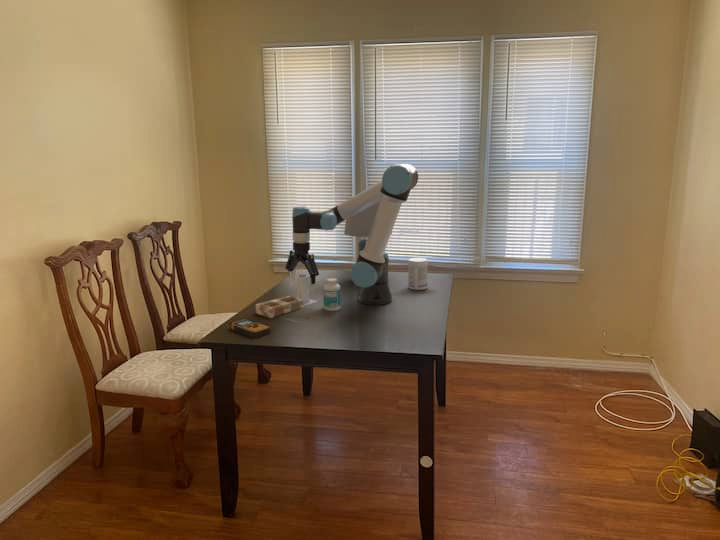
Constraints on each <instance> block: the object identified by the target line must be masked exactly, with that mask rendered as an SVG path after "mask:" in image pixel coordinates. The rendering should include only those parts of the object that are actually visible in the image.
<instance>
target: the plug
mask: <svg viewBox="0 0 720 540" xmlns="http://www.w3.org/2000/svg"><path fill="white" fill-rule="evenodd" d="M309 277H310V275H307V274H304V273H301V274H298V275H295V285H296V298H300V299H302V300H303V303H306V302H309V299H310V291H309Z"/></svg>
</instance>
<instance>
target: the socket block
mask: <svg viewBox="0 0 720 540" xmlns="http://www.w3.org/2000/svg"><path fill="white" fill-rule="evenodd" d="M303 308H304V306H303V300H302V299H300V298H297V296H292V295H287V296H283V297H278V298H276V299H275V298H274V299H270V300H268V301H267V300H266V301H262V302H260V303H256V304H255V314H257V315H260V316H264V317H266V318H268V319H273V318H277V317H279V316H280V315H282V314H286V313H289V312H293V311H297V310H300V309H303Z"/></svg>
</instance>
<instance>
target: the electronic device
mask: <svg viewBox="0 0 720 540" xmlns="http://www.w3.org/2000/svg"><path fill="white" fill-rule="evenodd" d="M229 328H230V330H232V331H234V332H237V333H239V334H240V335H241V334H242V335H244V336H247V337H250V338H253V339H256V338H260V337H264V336H267V335H269V334H271V328H270V326H268V325H264V324H262V323H260V322H259V323H258V322H257V321H254V320H250V319H247V318H241V319H238V320H235V321H231V322H230V324H229Z"/></svg>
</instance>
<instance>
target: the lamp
mask: <svg viewBox="0 0 720 540" xmlns="http://www.w3.org/2000/svg"><path fill="white" fill-rule="evenodd" d="M380 202H381V201H380ZM380 202H378V203H376V204H374V205H372V206H370V207H369V208H367V209H365V210H363V211H361V212H359V213H357V214H356V215H354V216H352V217H350V218H348V219H346V220H345V226H344V232H343V234H344V235H345V236H349V237H356V238H357V237H358V238H364V239H361V240H359V242H358V244H357V256H358V255H359V252H360V251H362V250H364V248H365V245H366V242H367V239H368V237H369V234H370V231H371V228H372V225H373V222H374V219H375V216H376V213H377V210H378V207H379V205H380ZM392 234H393V231H392V232H391V235H392Z"/></svg>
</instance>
